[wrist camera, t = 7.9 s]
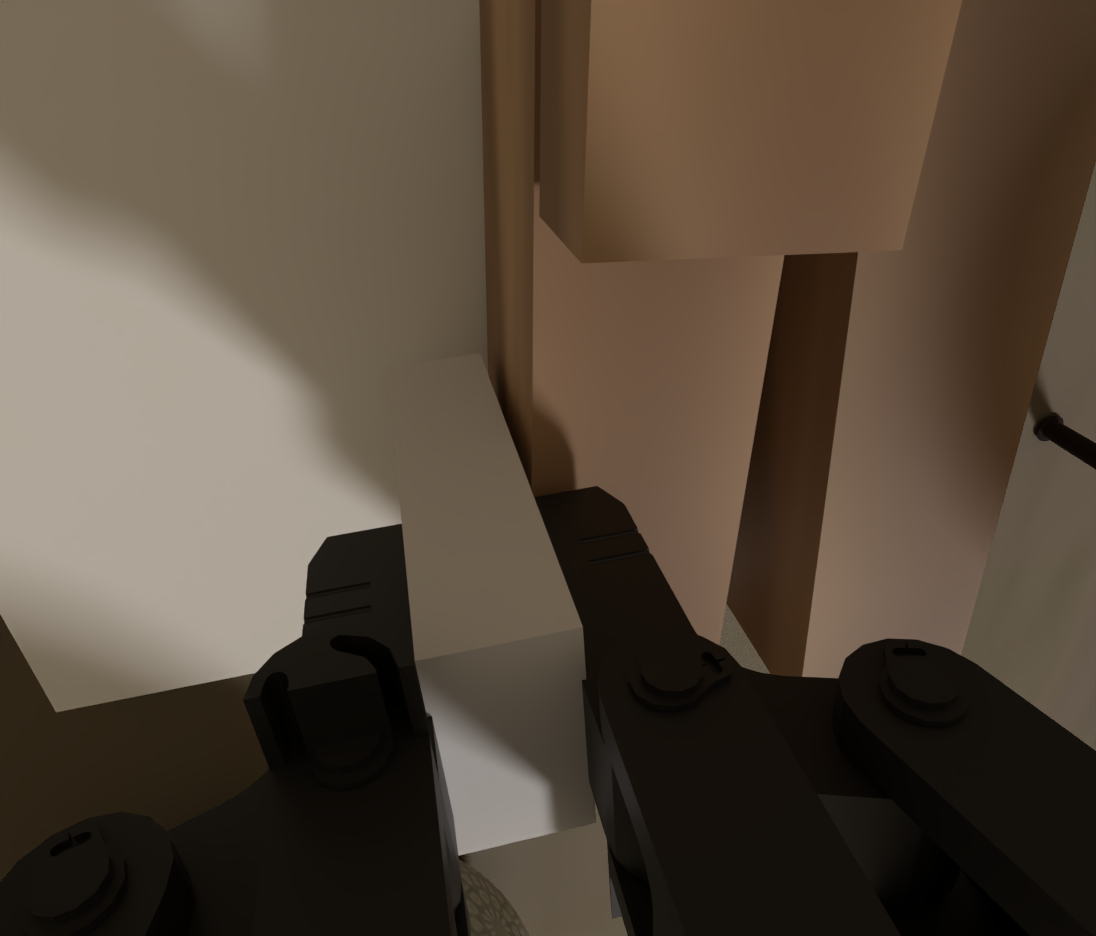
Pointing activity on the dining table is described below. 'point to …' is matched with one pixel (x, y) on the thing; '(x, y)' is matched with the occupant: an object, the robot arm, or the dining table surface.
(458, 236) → the board
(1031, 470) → the dining table surface
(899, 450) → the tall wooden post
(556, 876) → the dining table surface
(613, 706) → the robot arm
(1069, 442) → the lollipop
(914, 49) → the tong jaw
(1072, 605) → the dining table surface
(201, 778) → the dining table surface
